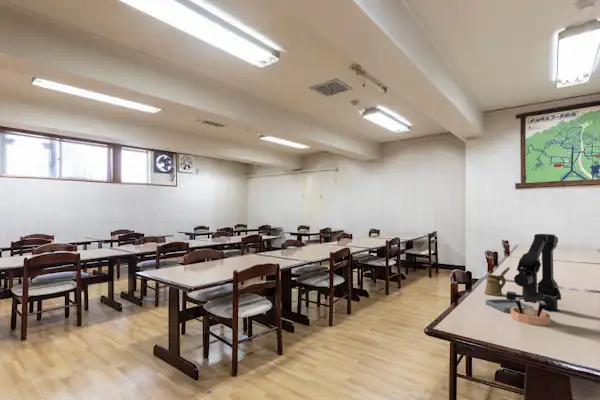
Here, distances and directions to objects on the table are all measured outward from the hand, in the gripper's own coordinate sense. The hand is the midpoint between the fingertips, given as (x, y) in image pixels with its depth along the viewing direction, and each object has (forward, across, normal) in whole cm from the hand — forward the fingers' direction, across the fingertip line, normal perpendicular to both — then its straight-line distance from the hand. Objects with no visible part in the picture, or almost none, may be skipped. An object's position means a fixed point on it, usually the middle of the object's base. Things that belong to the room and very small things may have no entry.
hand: (529, 316), depth 154 cm
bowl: (+2, 0, 0) cm, 2 cm away
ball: (-2, 0, 0) cm, 2 cm away
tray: (+2, -9, +15) cm, 17 cm away
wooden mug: (+2, -15, +41) cm, 44 cm away
